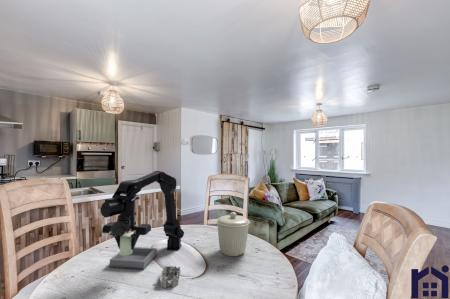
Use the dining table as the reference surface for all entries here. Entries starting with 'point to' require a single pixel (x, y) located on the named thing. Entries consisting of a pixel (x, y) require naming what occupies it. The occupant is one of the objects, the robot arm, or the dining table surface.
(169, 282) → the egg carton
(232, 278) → the dining table surface
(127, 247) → the pale green cylinder
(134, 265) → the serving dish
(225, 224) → the canister
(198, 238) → the dining table surface
